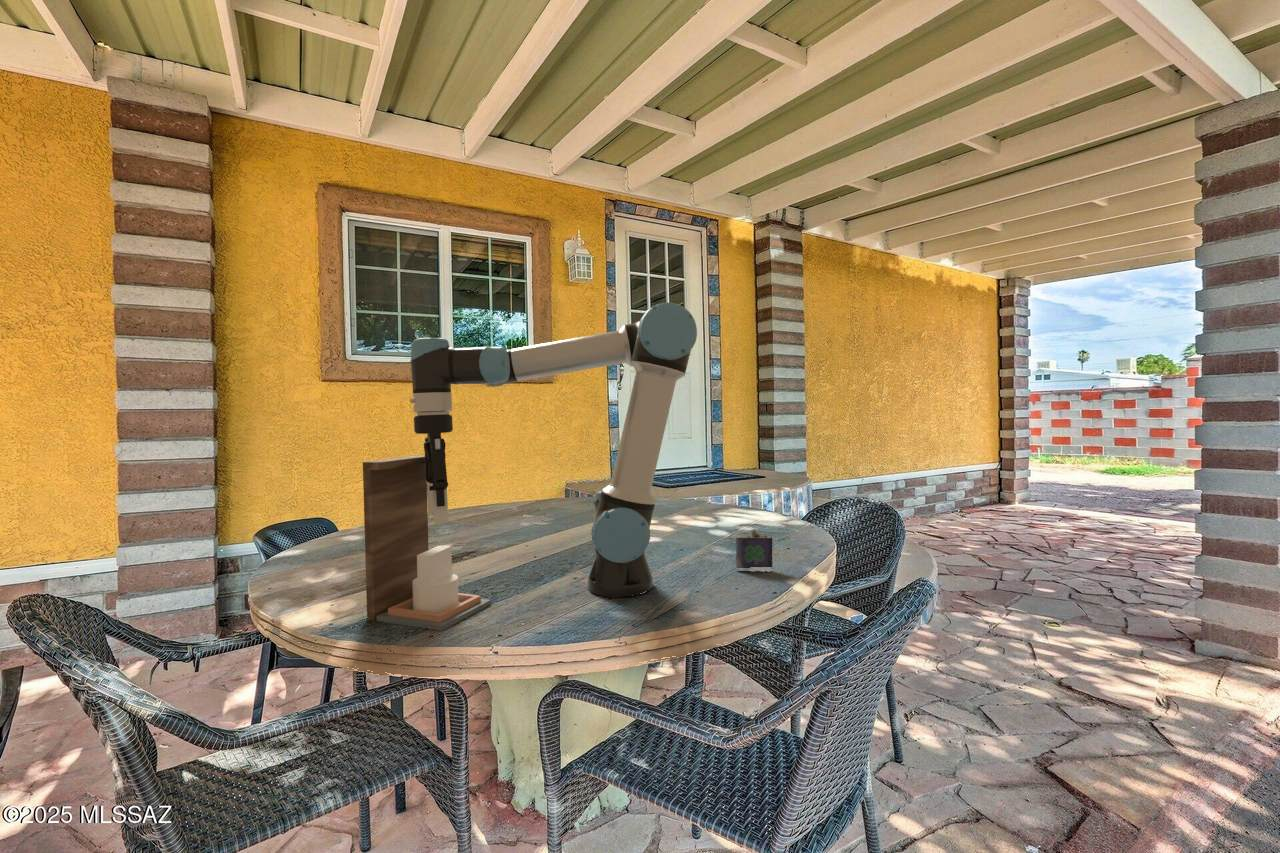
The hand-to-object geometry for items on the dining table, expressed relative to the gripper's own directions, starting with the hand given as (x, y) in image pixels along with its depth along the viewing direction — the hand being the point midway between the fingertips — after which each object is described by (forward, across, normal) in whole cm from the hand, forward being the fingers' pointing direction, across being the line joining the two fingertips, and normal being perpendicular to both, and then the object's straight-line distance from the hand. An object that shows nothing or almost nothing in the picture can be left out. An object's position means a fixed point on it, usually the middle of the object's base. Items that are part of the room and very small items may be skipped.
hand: (437, 517), depth 123 cm
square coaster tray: (+20, -1, -1) cm, 20 cm away
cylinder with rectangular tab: (+19, -1, -1) cm, 19 cm away
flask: (+22, +3, +76) cm, 79 cm away
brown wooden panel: (+20, -8, -8) cm, 22 cm away
